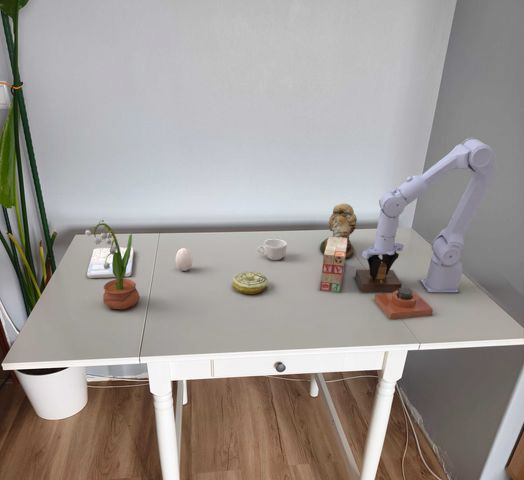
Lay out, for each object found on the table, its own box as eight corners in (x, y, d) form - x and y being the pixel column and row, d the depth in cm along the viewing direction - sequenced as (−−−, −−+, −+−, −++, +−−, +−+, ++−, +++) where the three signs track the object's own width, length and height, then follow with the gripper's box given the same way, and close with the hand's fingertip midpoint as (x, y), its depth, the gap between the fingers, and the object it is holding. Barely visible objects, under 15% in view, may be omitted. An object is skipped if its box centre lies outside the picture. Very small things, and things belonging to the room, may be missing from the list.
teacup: (282, 252, 176) (283, 237, 173) (288, 261, 170) (289, 246, 167) (255, 254, 174) (255, 239, 171) (259, 263, 168) (260, 248, 165)
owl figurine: (317, 239, 187) (322, 194, 177) (348, 240, 187) (354, 195, 178) (323, 260, 172) (328, 212, 162) (357, 261, 172) (364, 213, 163)
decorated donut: (274, 289, 153) (275, 278, 151) (248, 299, 147) (248, 288, 145) (252, 276, 159) (253, 266, 157) (226, 286, 153) (226, 275, 151)
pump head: (407, 293, 146) (408, 286, 145) (413, 299, 143) (415, 293, 142) (395, 294, 145) (396, 288, 144) (401, 300, 142) (402, 294, 141)
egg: (184, 275, 159) (183, 253, 154) (172, 270, 161) (171, 248, 157) (196, 269, 162) (195, 247, 158) (184, 265, 165) (183, 243, 161)
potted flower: (101, 316, 136) (86, 230, 122) (93, 300, 144) (79, 216, 130) (144, 307, 141) (134, 223, 127) (134, 292, 148) (124, 210, 135)
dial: (372, 272, 158) (374, 260, 155) (385, 274, 157) (387, 262, 154) (371, 278, 154) (373, 265, 152) (384, 280, 154) (386, 267, 151)
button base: (413, 296, 152) (416, 285, 149) (431, 315, 143) (434, 303, 141) (373, 300, 149) (376, 288, 147) (389, 319, 140) (392, 307, 138)
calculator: (134, 251, 173) (133, 245, 172) (131, 277, 156) (130, 271, 155) (94, 252, 171) (93, 247, 170) (87, 279, 154) (86, 273, 153)
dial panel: (391, 278, 162) (392, 269, 160) (400, 292, 154) (401, 283, 152) (354, 277, 161) (356, 269, 159) (361, 292, 153) (363, 283, 151)
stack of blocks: (326, 261, 171) (330, 227, 164) (344, 263, 170) (349, 229, 163) (319, 290, 153) (323, 253, 146) (340, 293, 152) (345, 255, 145)
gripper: (376, 243, 142) (369, 285, 149) (413, 234, 148) (404, 275, 156) (360, 234, 147) (354, 275, 154) (397, 226, 153) (389, 266, 161)
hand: (378, 275), depth 155 cm, fingers closed on dial, 4 cm apart
